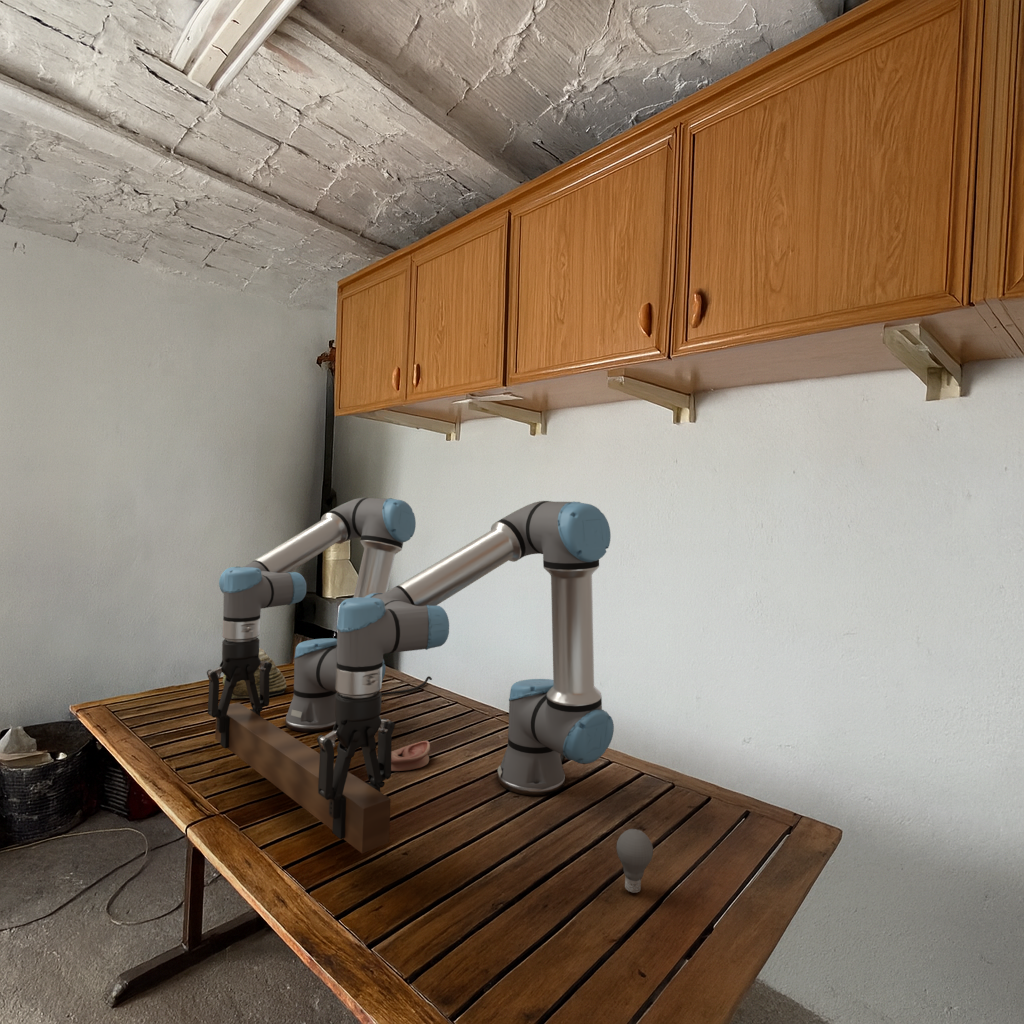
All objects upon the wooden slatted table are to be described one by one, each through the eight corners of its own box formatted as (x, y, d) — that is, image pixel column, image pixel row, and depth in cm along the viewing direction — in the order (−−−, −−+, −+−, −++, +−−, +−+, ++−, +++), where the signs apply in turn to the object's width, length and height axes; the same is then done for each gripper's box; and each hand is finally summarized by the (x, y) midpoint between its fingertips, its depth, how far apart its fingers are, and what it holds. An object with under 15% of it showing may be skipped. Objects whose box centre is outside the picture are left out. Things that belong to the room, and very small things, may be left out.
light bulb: (610, 879, 108) (613, 822, 108) (644, 879, 109) (647, 822, 109) (619, 902, 102) (622, 840, 102) (655, 901, 103) (658, 840, 103)
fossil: (218, 695, 195) (220, 647, 195) (278, 685, 208) (279, 640, 207) (228, 703, 189) (230, 653, 188) (289, 692, 201) (290, 645, 201)
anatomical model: (365, 751, 148) (384, 733, 160) (364, 767, 148) (384, 749, 160) (419, 758, 146) (435, 740, 157) (418, 775, 146) (434, 756, 157)
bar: (215, 738, 143) (215, 707, 142) (237, 733, 146) (238, 702, 146) (362, 853, 100) (363, 808, 100) (389, 842, 103) (390, 798, 103)
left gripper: (204, 647, 130) (201, 759, 131) (288, 636, 143) (285, 737, 144) (191, 640, 135) (188, 748, 136) (273, 630, 148) (270, 728, 149)
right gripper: (319, 708, 97) (315, 859, 97) (416, 686, 109) (411, 819, 110) (296, 696, 102) (292, 839, 102) (391, 676, 115) (387, 803, 115)
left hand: (238, 742), depth 140 cm, fingers closed on bar, 5 cm apart
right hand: (354, 828), depth 106 cm, fingers closed on bar, 5 cm apart
